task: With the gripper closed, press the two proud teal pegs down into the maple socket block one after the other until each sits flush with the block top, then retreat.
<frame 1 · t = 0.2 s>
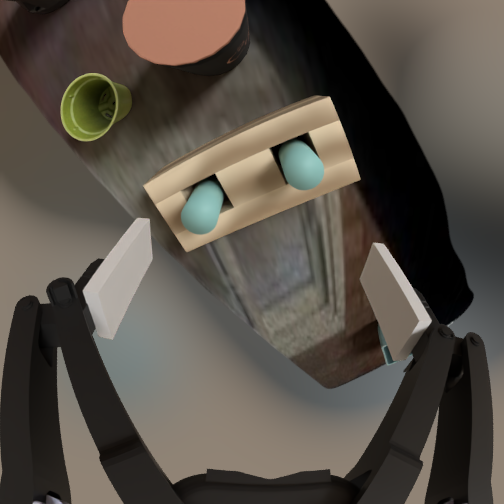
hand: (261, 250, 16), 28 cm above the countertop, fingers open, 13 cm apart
coffee jar: (212, 43, 31), on the countertop
plant pot: (116, 101, 35), on the countertop
flower pot: (390, 320, 59), on the countertop
socket block: (251, 160, 41), on the countertop
peg 1: (205, 203, 33), point 11 cm above the countertop, slide at 5.5 cm
peg 2: (298, 161, 30), point 11 cm above the countertop, slide at 5.5 cm
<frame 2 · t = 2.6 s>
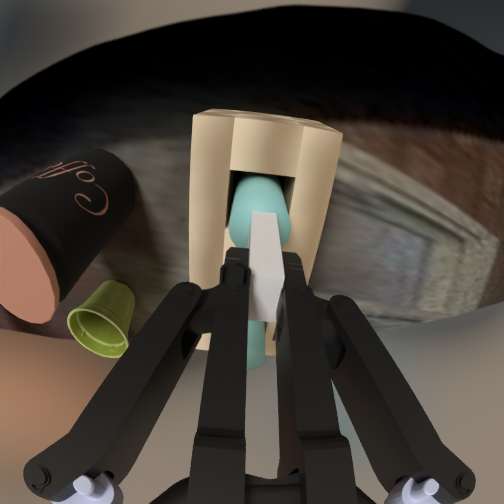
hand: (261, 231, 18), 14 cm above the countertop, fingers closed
coffee jar: (101, 187, 30), on the countertop
plant pot: (118, 293, 39), on the countertop
socket block: (252, 222, 33), on the countertop
peg 1: (244, 325, 27), point 11 cm above the countertop, slide at 5.5 cm
peg 2: (259, 205, 22), point 9 cm above the countertop, slide at 4.4 cm, touching gripper
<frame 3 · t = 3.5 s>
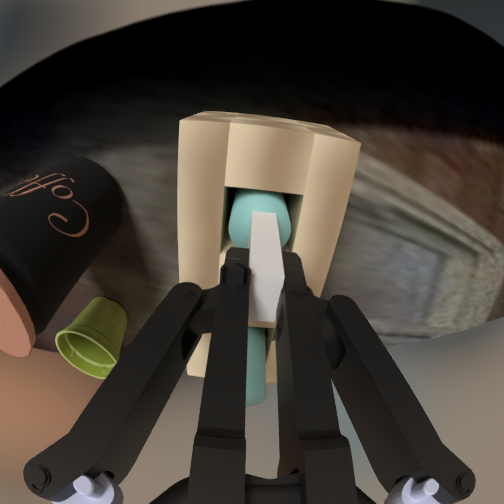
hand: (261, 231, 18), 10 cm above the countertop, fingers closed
coffee jar: (85, 198, 27), on the countertop
plant pot: (109, 310, 36), on the countertop
socket block: (251, 238, 29), on the countertop
peg 1: (242, 357, 24), point 11 cm above the countertop, slide at 5.5 cm
peg 2: (259, 205, 22), point 6 cm above the countertop, slide at 0.6 cm, touching gripper
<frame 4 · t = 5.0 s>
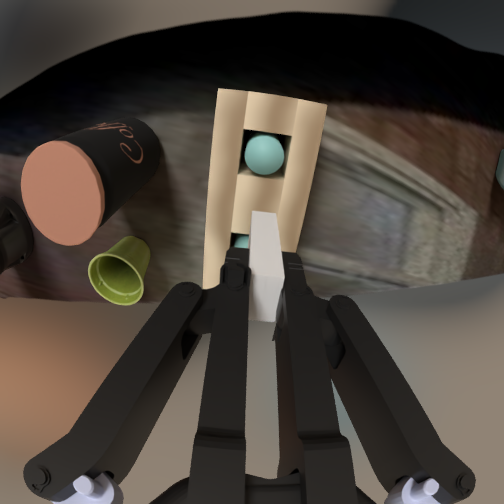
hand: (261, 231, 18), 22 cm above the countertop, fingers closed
coffee jar: (130, 151, 37), on the countertop
plant pot: (134, 250, 45), on the countertop
flower pot: (503, 166, 34), on the countertop
socket block: (256, 182, 39), on the countertop
peg 1: (249, 259, 33), point 10 cm above the countertop, slide at 5.5 cm
peg 2: (263, 148, 31), point 6 cm above the countertop, slide at 0.5 cm
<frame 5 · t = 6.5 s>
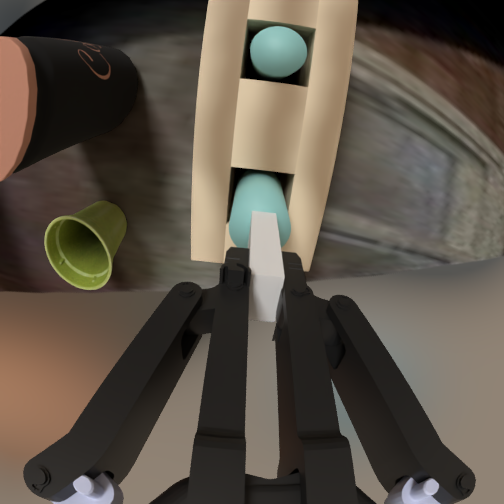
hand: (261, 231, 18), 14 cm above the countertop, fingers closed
coffee jar: (102, 90, 25), on the countertop
plant pot: (107, 220, 34), on the countertop
socket block: (265, 117, 27), on the countertop
peg 1: (259, 205, 22), point 10 cm above the countertop, slide at 5.2 cm, touching gripper
peg 2: (275, 57, 19), point 6 cm above the countertop, slide at 0.5 cm
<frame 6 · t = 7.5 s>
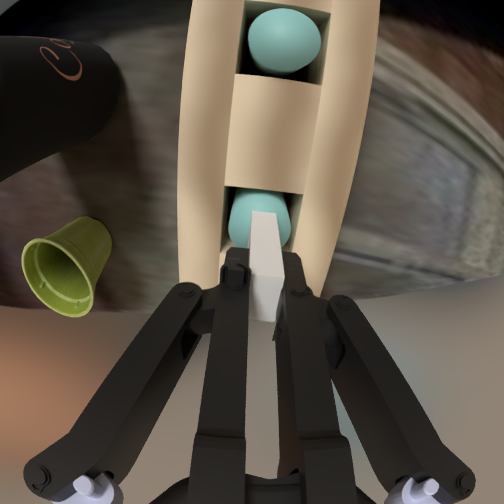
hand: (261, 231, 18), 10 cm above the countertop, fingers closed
coffee jar: (80, 92, 21), on the countertop
plant pot: (91, 237, 30), on the countertop
socket block: (266, 121, 23), on the countertop
peg 1: (259, 205, 22), point 6 cm above the countertop, slide at 0.6 cm, touching gripper
peg 2: (279, 48, 15), point 6 cm above the countertop, slide at 0.5 cm
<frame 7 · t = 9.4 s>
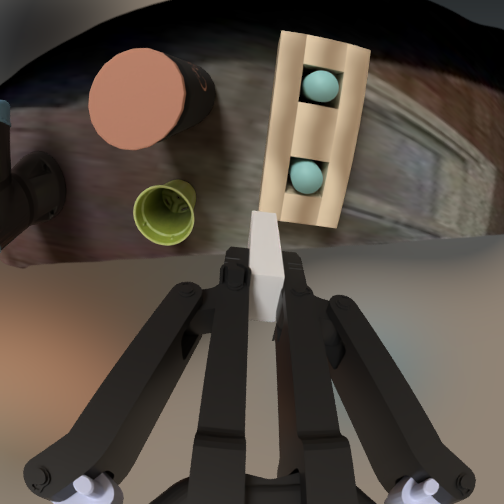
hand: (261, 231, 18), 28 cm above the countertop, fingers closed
coffee jar: (183, 95, 38), on the countertop
plant pot: (179, 195, 46), on the countertop
socket block: (304, 125, 39), on the countertop
peg 1: (303, 170, 38), point 6 cm above the countertop, slide at 0.5 cm
peg 2: (316, 87, 31), point 6 cm above the countertop, slide at 0.5 cm
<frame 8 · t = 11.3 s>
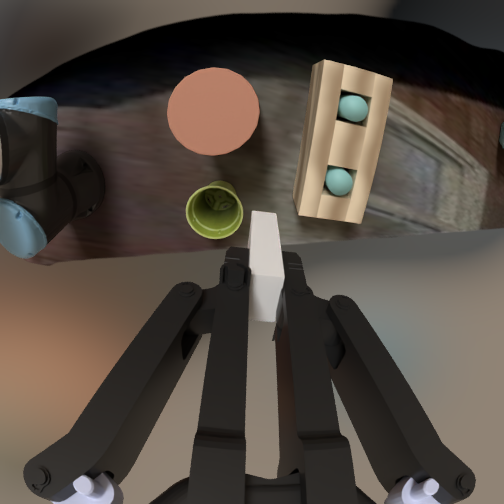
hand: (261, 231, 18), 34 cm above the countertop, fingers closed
coffee jar: (228, 105, 44), on the countertop
plant pot: (220, 194, 53), on the countertop
socket block: (332, 136, 46), on the countertop
peg 1: (334, 176, 45), point 6 cm above the countertop, slide at 0.5 cm
peg 2: (347, 107, 38), point 6 cm above the countertop, slide at 0.5 cm
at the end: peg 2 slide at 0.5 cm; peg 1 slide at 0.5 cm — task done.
